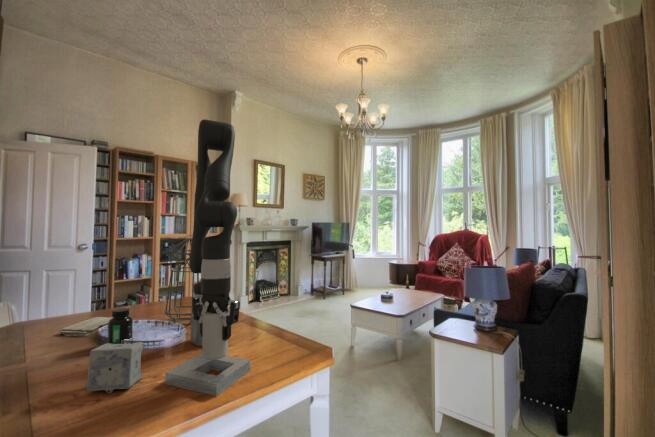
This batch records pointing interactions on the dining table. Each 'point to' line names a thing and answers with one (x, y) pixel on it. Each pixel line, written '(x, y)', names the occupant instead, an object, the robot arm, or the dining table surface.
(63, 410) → the dining table surface
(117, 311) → the supplement bottle
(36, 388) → the dining table surface
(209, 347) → the beverage can
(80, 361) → the dining table surface
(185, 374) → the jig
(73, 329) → the washcloth
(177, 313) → the geometric lantern
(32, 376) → the dining table surface
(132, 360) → the incense holder
